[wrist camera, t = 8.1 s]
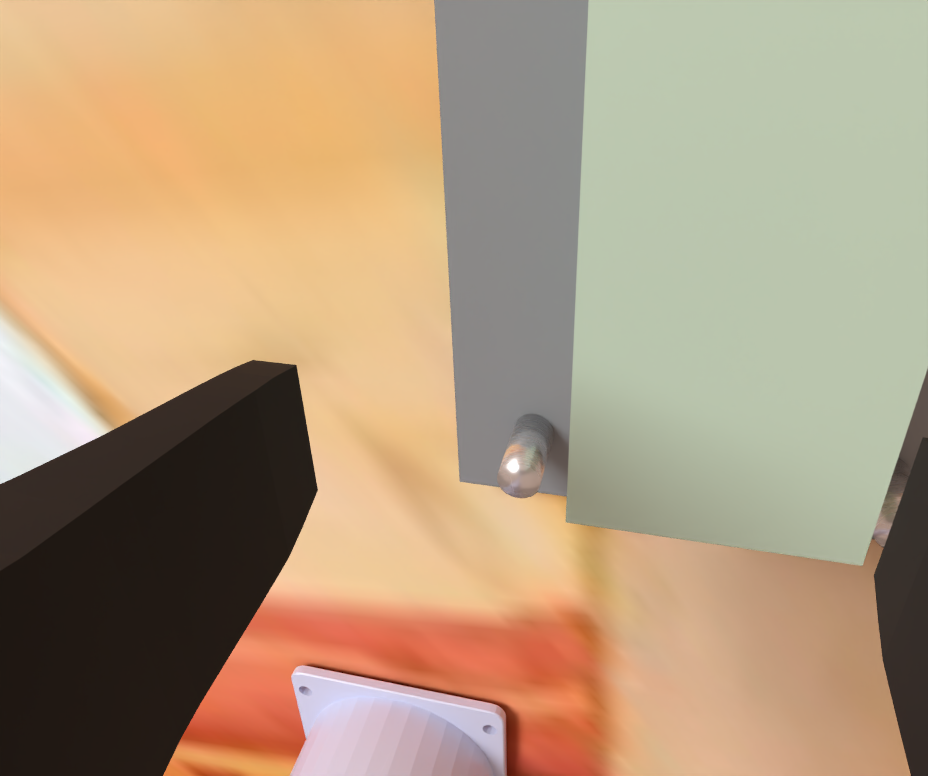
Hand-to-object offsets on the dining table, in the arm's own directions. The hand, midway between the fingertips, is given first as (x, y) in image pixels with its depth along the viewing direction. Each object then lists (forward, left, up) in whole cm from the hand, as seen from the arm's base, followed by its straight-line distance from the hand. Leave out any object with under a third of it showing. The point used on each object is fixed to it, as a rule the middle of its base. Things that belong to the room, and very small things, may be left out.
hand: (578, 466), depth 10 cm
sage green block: (+1, -2, -8) cm, 9 cm away
